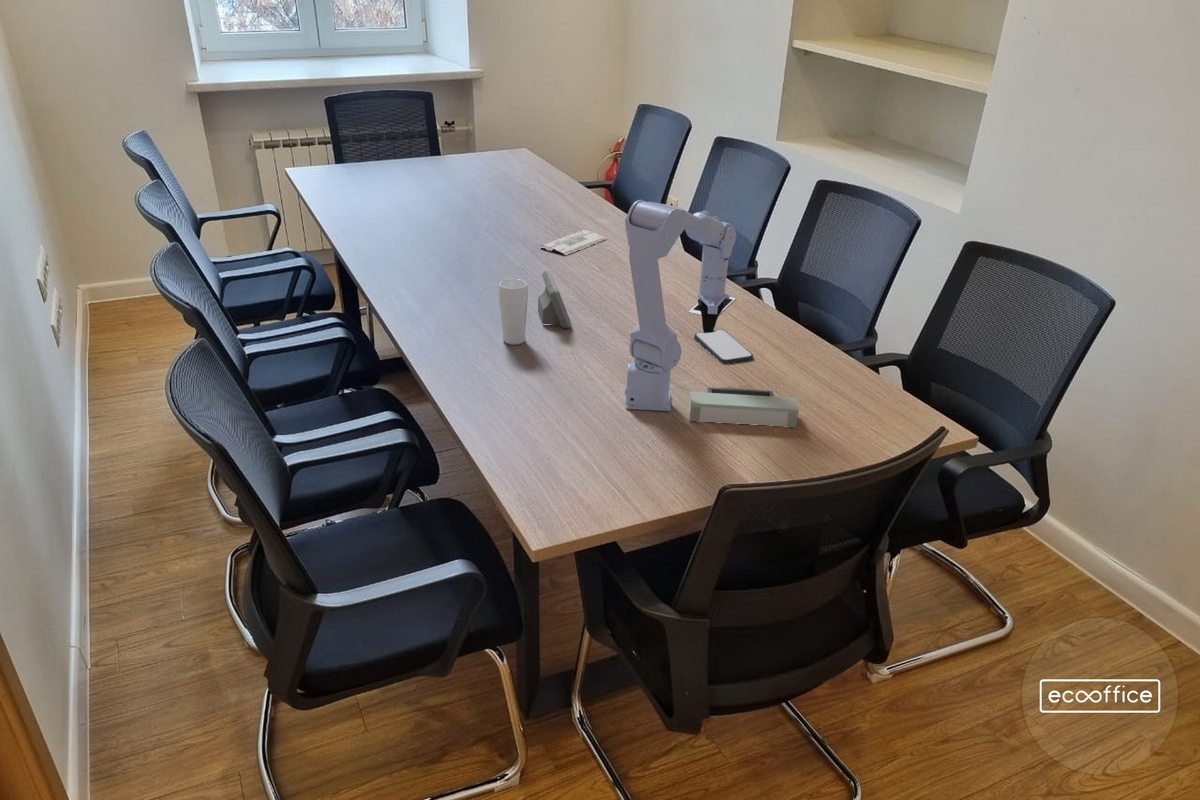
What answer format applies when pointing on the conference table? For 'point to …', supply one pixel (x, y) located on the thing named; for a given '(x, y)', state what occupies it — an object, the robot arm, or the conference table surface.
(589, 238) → the newspaper
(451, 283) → the conference table surface
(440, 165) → the conference table surface
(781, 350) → the conference table surface
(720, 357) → the smartphone
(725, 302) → the cell phone
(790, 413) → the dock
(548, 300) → the digital clock
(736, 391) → the shell tray
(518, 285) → the drinking glass
